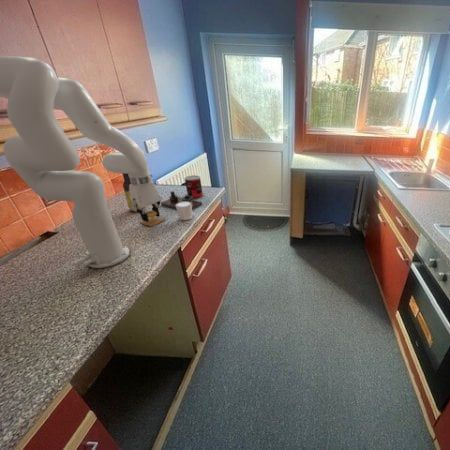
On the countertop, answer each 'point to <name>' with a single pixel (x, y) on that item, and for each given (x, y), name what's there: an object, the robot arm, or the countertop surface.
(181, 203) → the white short cylinder
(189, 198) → the wood ring
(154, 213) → the brass ring
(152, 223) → the cork mat
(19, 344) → the countertop surface
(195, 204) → the peg rack
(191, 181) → the canned food
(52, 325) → the countertop surface
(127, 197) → the sauce bottle
